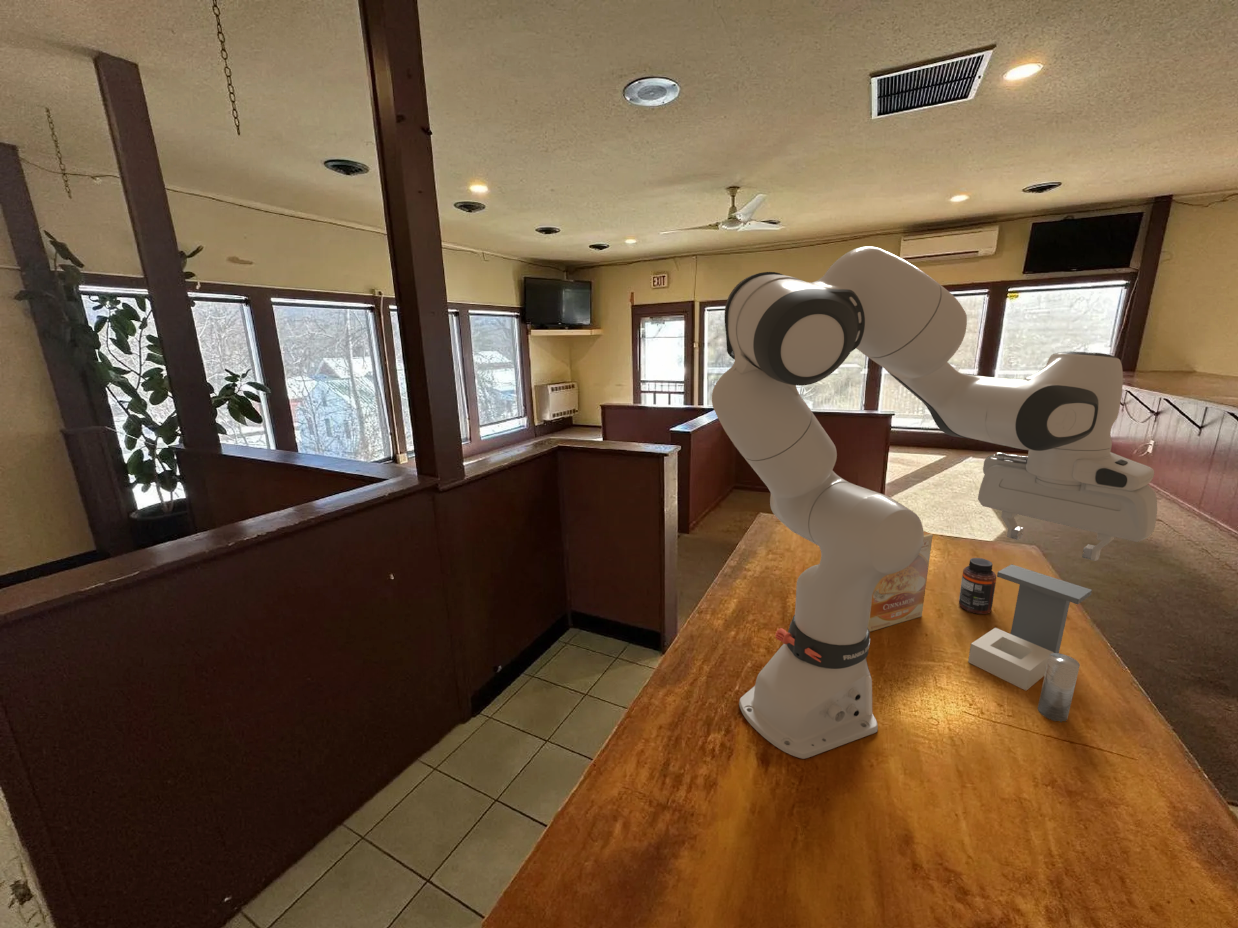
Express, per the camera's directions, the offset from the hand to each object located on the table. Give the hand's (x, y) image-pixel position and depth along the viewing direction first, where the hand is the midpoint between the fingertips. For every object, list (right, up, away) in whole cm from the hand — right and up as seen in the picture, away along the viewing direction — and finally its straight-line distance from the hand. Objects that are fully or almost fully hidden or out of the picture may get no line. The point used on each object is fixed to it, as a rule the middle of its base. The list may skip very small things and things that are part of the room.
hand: (1050, 547), depth 75 cm
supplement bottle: (+12, -19, +32) cm, 39 cm away
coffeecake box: (-9, -21, +31) cm, 38 cm away
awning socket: (+7, -24, +15) cm, 29 cm away
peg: (+3, -27, +3) cm, 28 cm away
